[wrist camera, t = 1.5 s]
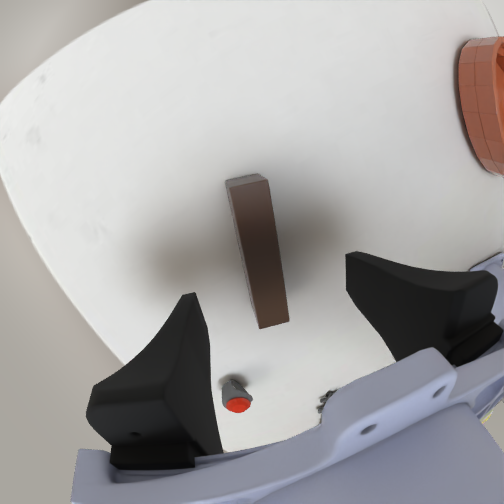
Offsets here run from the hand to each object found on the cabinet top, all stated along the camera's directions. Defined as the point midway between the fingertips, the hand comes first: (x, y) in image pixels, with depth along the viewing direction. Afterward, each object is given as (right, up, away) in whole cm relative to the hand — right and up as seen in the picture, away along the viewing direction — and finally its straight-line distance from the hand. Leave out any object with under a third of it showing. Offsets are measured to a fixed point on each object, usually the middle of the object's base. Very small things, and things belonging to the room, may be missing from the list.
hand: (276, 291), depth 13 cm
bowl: (+23, +16, +4) cm, 28 cm away
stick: (-1, +2, +5) cm, 6 cm away
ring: (-3, -9, +10) cm, 14 cm away
